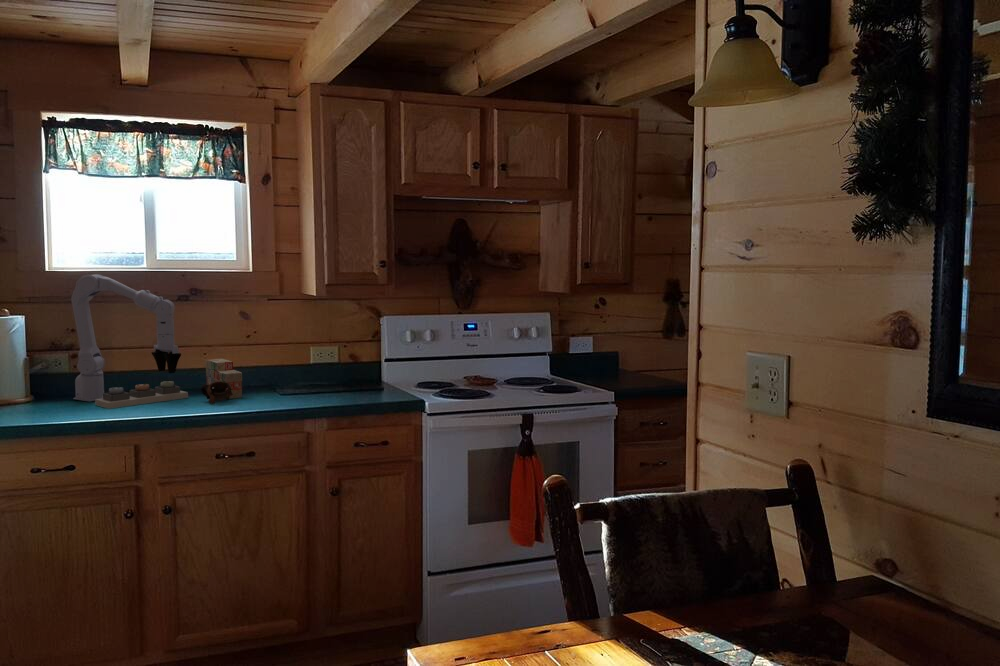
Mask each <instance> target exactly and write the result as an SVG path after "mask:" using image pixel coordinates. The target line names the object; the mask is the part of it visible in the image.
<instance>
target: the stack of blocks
mask: <svg viewBox="0 0 1000 666" xmlns="http://www.w3.org/2000/svg"><path fill="white" fill-rule="evenodd" d="M205 376H206V378H205V379H206V384H207V385H210V384H211V383H213V382H216V381H223V382H226V383H228V384H229V385H230V387H231V389H232V390H231V391H232V394H233V395H230V397H229V400H231V399H238V398H243V372H241V371H238V370H236V369H234V361H232V360H228V359H225V358H210V359H205ZM212 389H214V387H212ZM227 389H228V388H226V390H227ZM226 390H225V391H226Z"/></svg>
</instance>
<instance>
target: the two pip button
mask: <svg viewBox="0 0 1000 666" xmlns="http://www.w3.org/2000/svg"><path fill="white" fill-rule="evenodd" d="M123 392H124V387H117V386H115V387H110V388H108V393H110V394H119V393H123Z"/></svg>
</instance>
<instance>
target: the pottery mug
mask: <svg viewBox="0 0 1000 666" xmlns="http://www.w3.org/2000/svg"><path fill="white" fill-rule="evenodd" d="M212 387H214V389H212ZM226 388H228V389H227V390H226ZM225 390H226V391H225ZM231 390H232V389H231V387H230V385H229V384H228V383H226V382H223V381H216V382H213V383H211V384H210V385H207V383H206V384H205V383H204V384H202V385H201V387H200V392H201V394H203V396H204V397H205V398H206V400H208V403H209V404H211V405H214V404H215V402H220V401H223V400H228V401H230V399H229V397H230V395H233V394H232V391H231Z"/></svg>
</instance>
